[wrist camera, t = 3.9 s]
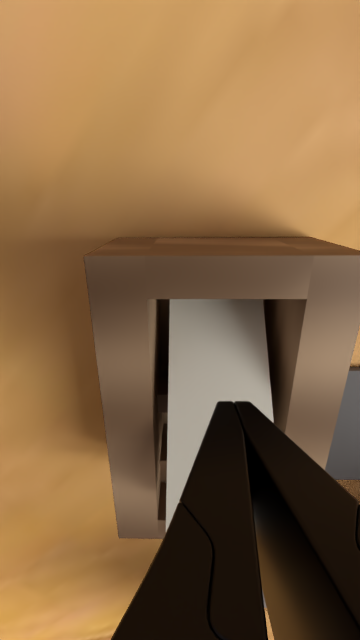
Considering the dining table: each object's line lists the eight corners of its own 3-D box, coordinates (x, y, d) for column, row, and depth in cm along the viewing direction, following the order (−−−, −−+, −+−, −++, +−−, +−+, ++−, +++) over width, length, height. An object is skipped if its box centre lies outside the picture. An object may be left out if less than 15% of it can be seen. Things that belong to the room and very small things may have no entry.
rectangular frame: (277, 456, 19) (307, 540, 14) (134, 455, 19) (118, 538, 14) (311, 237, 14) (376, 255, 9) (117, 237, 14) (83, 256, 9)
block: (267, 518, 12) (284, 538, 10) (168, 517, 12) (165, 536, 10) (252, 308, 15) (262, 292, 13) (171, 308, 15) (169, 292, 13)
